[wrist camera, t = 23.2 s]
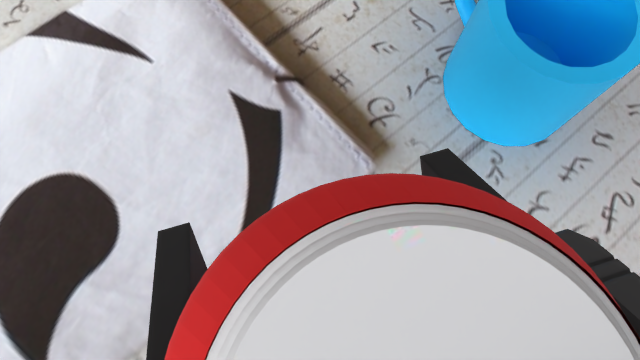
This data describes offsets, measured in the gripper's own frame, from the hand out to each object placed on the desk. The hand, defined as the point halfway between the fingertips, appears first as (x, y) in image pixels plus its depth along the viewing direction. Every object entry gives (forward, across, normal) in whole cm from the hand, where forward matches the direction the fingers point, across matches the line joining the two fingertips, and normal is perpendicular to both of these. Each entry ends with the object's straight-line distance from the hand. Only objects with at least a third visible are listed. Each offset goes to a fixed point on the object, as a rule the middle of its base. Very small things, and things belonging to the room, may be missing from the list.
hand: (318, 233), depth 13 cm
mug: (+19, +15, -4) cm, 24 cm away
